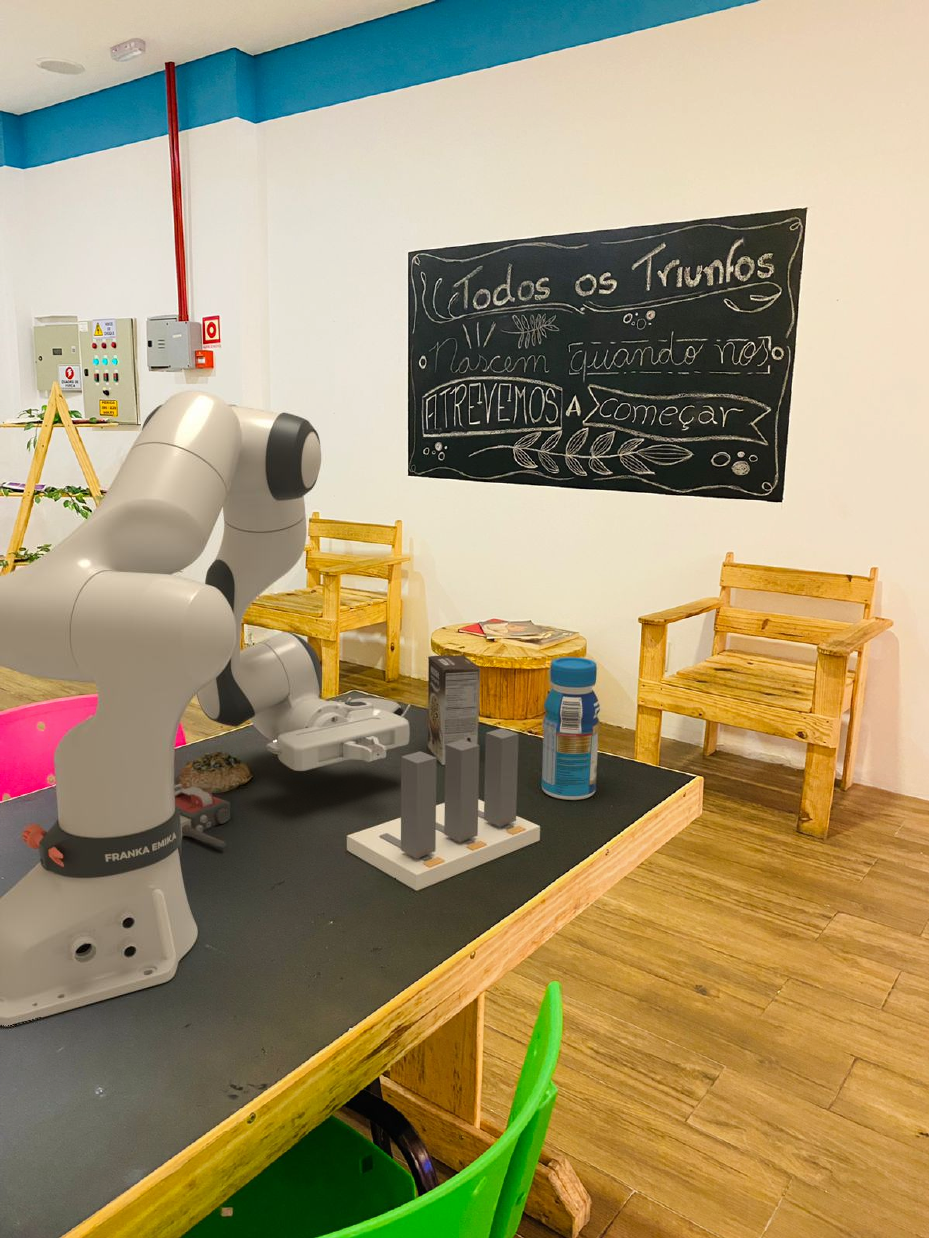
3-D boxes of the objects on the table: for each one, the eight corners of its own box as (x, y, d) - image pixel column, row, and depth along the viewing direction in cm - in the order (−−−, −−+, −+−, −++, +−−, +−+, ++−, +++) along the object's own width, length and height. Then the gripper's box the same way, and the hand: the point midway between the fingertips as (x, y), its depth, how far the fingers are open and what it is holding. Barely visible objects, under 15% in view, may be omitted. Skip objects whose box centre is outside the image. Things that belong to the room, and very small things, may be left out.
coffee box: (426, 747, 156) (427, 655, 153) (462, 744, 158) (464, 653, 155) (441, 766, 148) (442, 668, 145) (479, 762, 150) (481, 666, 147)
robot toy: (379, 754, 156) (412, 722, 169) (378, 729, 155) (411, 699, 168) (314, 745, 160) (351, 715, 173) (313, 721, 158) (350, 692, 172)
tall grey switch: (416, 858, 110) (417, 763, 108) (400, 850, 112) (401, 756, 110) (435, 851, 112) (436, 757, 110) (419, 843, 114) (420, 751, 112)
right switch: (499, 826, 119) (502, 738, 117) (483, 819, 122) (485, 732, 119) (516, 820, 121) (518, 733, 119) (500, 813, 124) (502, 728, 121)
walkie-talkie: (123, 817, 127) (217, 858, 116) (122, 787, 126) (216, 825, 115) (177, 798, 134) (270, 835, 123) (176, 769, 133) (269, 804, 122)
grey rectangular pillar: (460, 842, 115) (461, 750, 112) (444, 834, 117) (445, 744, 115) (477, 835, 117) (479, 745, 114) (461, 827, 119) (463, 739, 117)
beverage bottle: (528, 789, 139) (532, 660, 135) (566, 776, 144) (571, 652, 140) (570, 806, 133) (576, 672, 129) (608, 792, 138) (614, 663, 134)
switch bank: (416, 890, 108) (416, 873, 107) (346, 850, 118) (346, 834, 117) (539, 840, 121) (540, 824, 121) (467, 807, 132) (468, 793, 131)
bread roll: (201, 764, 147) (203, 735, 146) (264, 781, 144) (266, 752, 143) (160, 792, 136) (162, 761, 135) (227, 811, 134) (229, 779, 133)
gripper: (259, 723, 130) (314, 747, 120) (375, 699, 144) (433, 719, 134) (260, 765, 131) (314, 793, 121) (375, 738, 145) (432, 760, 135)
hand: (378, 754), depth 128 cm, fingers closed
